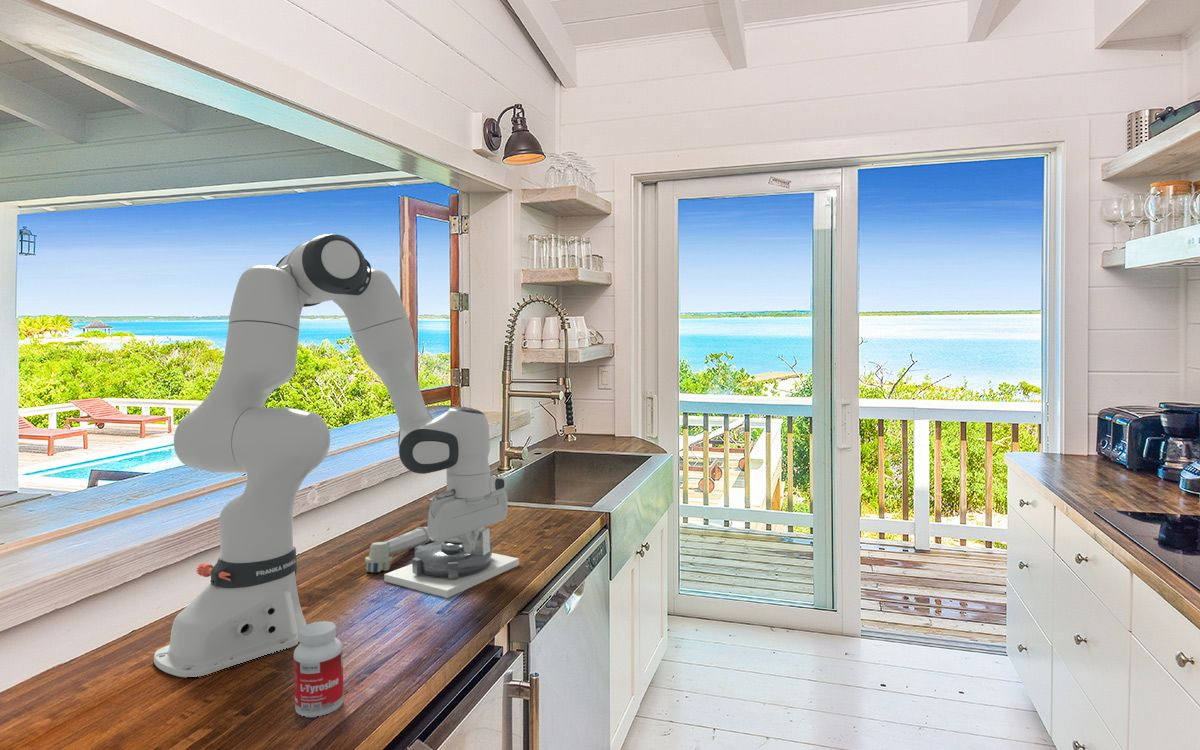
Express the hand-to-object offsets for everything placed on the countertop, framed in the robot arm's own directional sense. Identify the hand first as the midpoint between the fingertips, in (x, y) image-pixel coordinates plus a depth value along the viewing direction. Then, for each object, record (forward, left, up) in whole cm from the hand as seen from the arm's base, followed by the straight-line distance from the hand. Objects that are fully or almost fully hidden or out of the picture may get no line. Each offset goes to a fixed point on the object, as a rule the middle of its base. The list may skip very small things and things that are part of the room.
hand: (469, 551), depth 139 cm
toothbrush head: (+4, +26, -7) cm, 27 cm away
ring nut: (+2, +7, -4) cm, 8 cm away
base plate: (+2, +7, -6) cm, 9 cm away
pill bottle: (-46, -15, -7) cm, 49 cm away
